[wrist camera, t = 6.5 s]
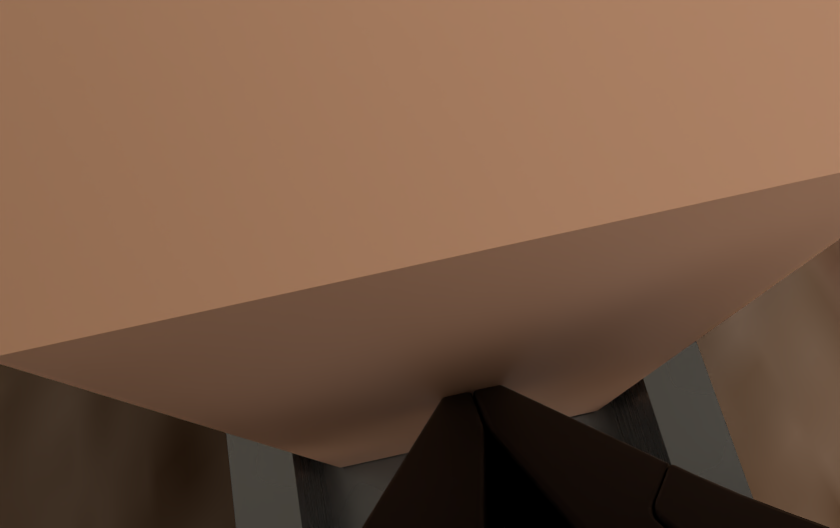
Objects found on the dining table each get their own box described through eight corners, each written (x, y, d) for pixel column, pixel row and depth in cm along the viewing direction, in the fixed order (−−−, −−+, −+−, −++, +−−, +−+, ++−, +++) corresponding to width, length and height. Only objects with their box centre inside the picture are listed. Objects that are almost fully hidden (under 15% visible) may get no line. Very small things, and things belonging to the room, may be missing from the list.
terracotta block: (597, 411, 15) (973, 143, 4) (340, 467, 15) (-18, 359, 4) (529, 181, 17) (650, -423, 6) (302, 230, 17) (-4, -288, 6)
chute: (799, 853, 13) (930, 990, 10) (346, 957, 13) (299, 1139, 9) (534, 45, 20) (550, -61, 16) (235, 109, 20) (183, 17, 16)
